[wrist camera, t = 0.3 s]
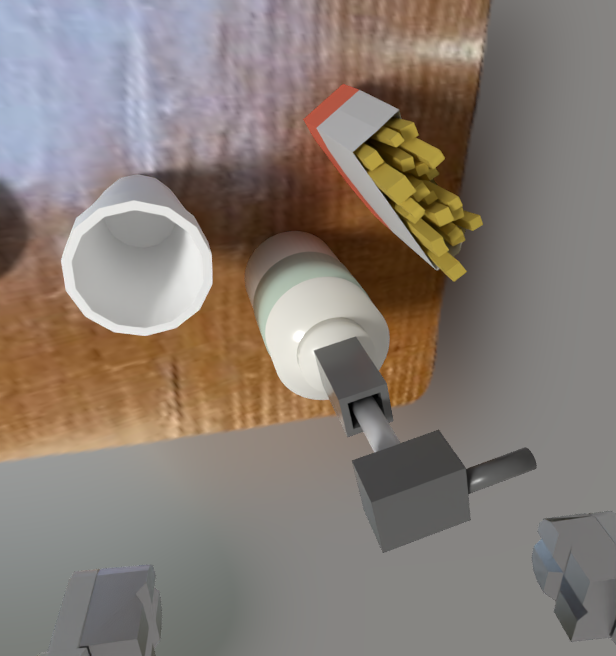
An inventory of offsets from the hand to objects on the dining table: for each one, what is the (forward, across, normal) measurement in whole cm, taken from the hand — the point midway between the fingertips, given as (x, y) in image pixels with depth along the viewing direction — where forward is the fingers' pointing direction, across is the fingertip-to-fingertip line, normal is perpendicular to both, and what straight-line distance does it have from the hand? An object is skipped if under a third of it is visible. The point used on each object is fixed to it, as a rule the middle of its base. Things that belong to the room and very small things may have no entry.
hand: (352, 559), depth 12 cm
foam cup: (+40, +10, +4) cm, 41 cm away
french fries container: (+42, -8, -1) cm, 43 cm away
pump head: (+21, -7, +11) cm, 25 cm away
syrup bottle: (+42, -2, +11) cm, 43 cm away
